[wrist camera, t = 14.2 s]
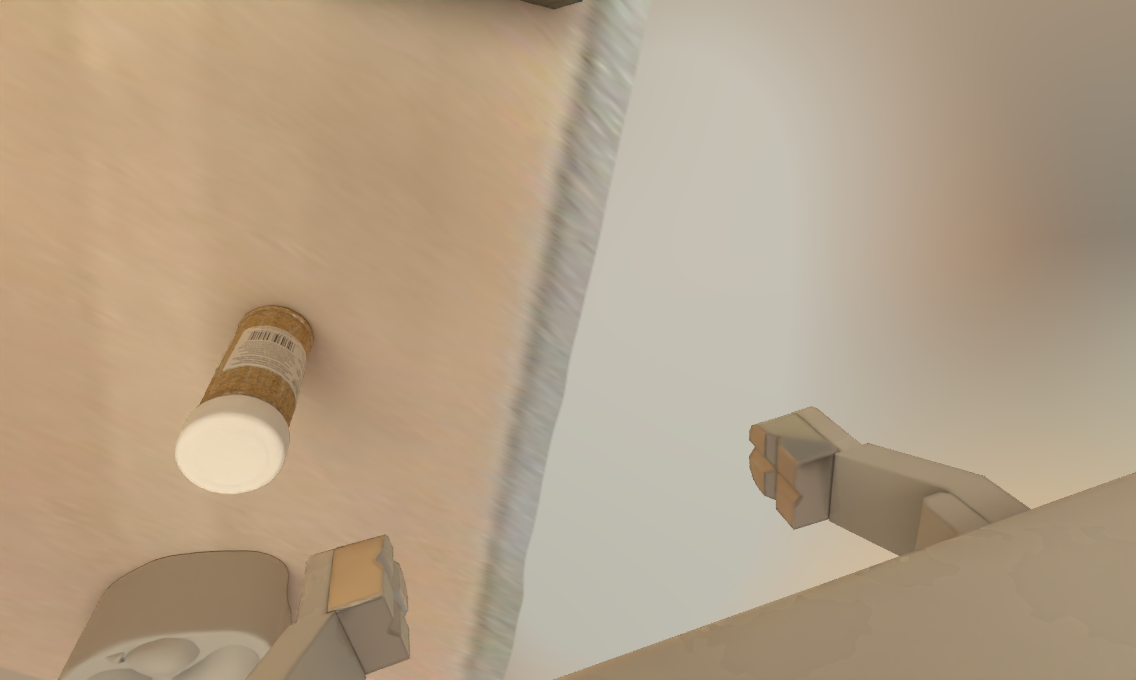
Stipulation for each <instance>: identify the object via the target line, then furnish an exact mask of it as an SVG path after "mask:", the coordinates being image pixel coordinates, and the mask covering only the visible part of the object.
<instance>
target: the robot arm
mask: <svg viewBox="0 0 1136 680" xmlns="http://www.w3.org/2000/svg"><path fill="white" fill-rule="evenodd" d="M749 434H750V436H749V440H750V441H751V443H752V444H753V445H754V446H755V448H754V449H753V451H752V453H751V454H750V456H749V460H750V470H751V473H752V477H753V480H754V481H755V483H756V485H757V487H758V488H759V490H760V491H761V492H762V493H763V494H764V495H765V496H767V497H769V498H772V499H775V500H776V510H777V511H778V512H779V513H780V514H781V515H782V517H783V518H784V519H785V520H786V521H787V522H788V524H789V525H790V526H791V527H792V528H793V529H798V528H801V527H804V526H807V525H811V524H814V523H818V522H821V521H824V520H827V519H829V521H831V522H833V523H835V524H836V525H838V526H840V527H842V528H844V529H846V530H848V531H850V532H852V533H854V534H856V535H859V536H860V537H863V538H865V539H866V540H868V541H871V542H872V543H875V544H876V545H878V546H880V547H883V548H884V549H887V550H889V551H891V552H893V553H895V554H897V555H899V557H897V558H894V559H891V560H888V561H885V562H883V563H880V564H877V565H874V566H872V567H869V568H866V569H863V570H860V571H857V572H855V573H852V574H849V575H846V576H844V577H841V578H838V579H835V580H832V581H830V582H827V583H824V584H821V585H819V586H815V587H813V588H810V589H807V590H804V591H801V592H799V593H796V594H793V595H790V596H787V597H784V598H782V599H779V600H776V601H773V602H770V603H768V604H765V605H762V606H759V607H756V608H753V609H751V610H748V611H745V612H742V613H739V614H737V615H734V616H731V617H728V618H725V619H722V620H720V621H717V622H714V623H711V624H708V625H706V626H703V627H700V628H697V629H695V630H692V631H689V632H686V633H683V634H680V635H678V636H675V637H672V638H669V639H666V640H664V641H661V642H658V643H655V644H652V645H650V646H647V647H644V648H641V649H639V650H636V651H633V652H630V653H628V654H625V655H622V656H619V657H616V658H613V659H611V660H608V661H605V662H602V663H599V664H596V665H594V666H591V667H588V668H585V669H582V670H580V671H577V672H574V673H571V674H568V675H566V676H563V677H560V678H557V679H555V680H1136V472H1135V473H1132V474H1129V475H1127V476H1124V477H1121V478H1118V479H1115V480H1113V481H1110V482H1107V483H1104V484H1101V485H1098V486H1096V487H1093V488H1090V489H1087V490H1084V491H1082V492H1079V493H1076V494H1073V495H1070V496H1068V497H1065V498H1062V499H1059V500H1057V501H1054V502H1051V503H1049V504H1045V505H1042V506H1040V507H1037V508H1034V509H1030V508H1028V507H1027V506H1026V505H1024V504H1023V503H1021V502H1020V501H1019V500H1017V499H1016V498H1014V497H1013V496H1011V495H1010V494H1009V493H1007V492H1006V491H1004V490H1003V489H1002V488H1000V487H999V486H997V485H996V484H994V483H993V482H992V481H990V480H989V479H988V478H986V477H985V476H983V475H979V474H975V473H972V472H968V471H965V470H961V469H958V468H954V467H950V466H947V465H944V464H940V463H937V462H933V461H930V460H926V459H922V458H919V457H915V456H912V455H908V454H905V453H901V452H898V451H894V450H891V449H887V448H884V447H880V446H876V445H873V444H869V443H867V444H863V445H862V444H860V443H859V442H858V441H857V440H856V439H854V438H853V437H852V436H850V435H849V434H848V433H847V432H846V431H844V430H843V429H842V428H841V427H840V426H838V425H837V424H836V423H834V422H833V421H832V420H831V419H830V418H829V417H827V416H826V415H825V414H824V413H822V412H821V411H820V410H819V409H817V408H815V407H808V408H805V409H802V410H799V411H795V412H793V413H791V414H787V415H784V416H781V417H778V418H774V419H771V420H768V421H765V422H761V423H758V424H755V425H752V426H751V429H750V431H749ZM407 612H408V596H407V590H406V584H405V580H404V576H403V573H402V570H401V567H400V564H399V563H397V562H395V561H393V547H392V544H391V542H390V540H389V537H388V536H387V535H381V536H378V537H374V538H370V539H367V540H363V541H359V542H356V543H352V544H348V545H345V546H341V547H337V548H336V549H332V550H328V551H325V552H321V553H317V554H314V555H310V557H309V558H308V560H307V562H306V567H305V573H304V579H303V585H302V591H301V597H300V603H299V609H298V615H297V621H296V623H295V624H292V625H289V626H288V627H287V628H286V629H285V631H284V632H283V633H282V634H281V636H280V637H279V638H278V639H277V641H276V642H275V643H274V644H273V646H272V647H271V648H270V649H269V651H268V652H267V653H266V654H265V656H264V657H263V658H262V659H261V661H260V662H259V663H258V664H257V666H256V667H255V668H254V669H253V670H252V672H251V673H250V674H249V675H248V677H247V678H246V679H245V680H365V679H366V674H369V673H372V672H374V671H377V670H380V669H383V668H385V667H388V666H391V665H394V664H396V663H399V662H402V661H405V660H407V659H410V644H409V628H408V625H407V623H406V620H405V617H404V616H405V615H406V613H407Z"/></svg>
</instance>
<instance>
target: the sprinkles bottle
mask: <svg viewBox="0 0 1136 680" xmlns="http://www.w3.org/2000/svg"><path fill="white" fill-rule="evenodd" d="M312 343H313V336H312V331H311V329H310V327H309V325H308V323H307V322H306V321H305V319H304V318H303V317H302V316H301V315H299V314H297V313H296V312H294V311H292V310H289V309H287V308H284V307H278V306H266V307H261V308H257V309H256V310H253V311H251V312H250V313H248V314H246V315H245V316H244V318H243V319H242V320H241V322H240V323H239V325H238V329H237V332H236V336H235V337H234V339H233V341H231V342H230V344H229V345H228V347H227V349H226V351H225V353H224V355H223V357H222V359H221V360H220V362H219V364H218V366H217V368H216V371H215V374H214V376H213V378H212V380H211V382H210V384H209V386H208V388H207V390H206V392H205V395H204V397H203V399H202V401H201V403H200V405H199V406H198V407H197V408H196V409H195V410H193V411H192V412H191V414H190V415H189V416H188V418H187V420H186V422H185V424H184V425H183V427H182V429H181V432H180V434H179V436H178V439H177V441H176V445H175V459H176V463H177V465H178V467H179V469H180V471H181V472H182V473H183V475H184V476H185V477H186V478H187V479H188V480H190V481H191V482H192V483H194V484H195V485H197V486H199V487H201V488H203V489H205V490H208V491H212V492H216V493H222V494H240V493H245V492H249V491H253V490H256V489H258V488H260V487H262V486H264V485H266V484H267V483H269V482H270V481H271V480H272V479H273V478H274V477H275V476H276V475H277V474H278V473H279V471H280V470H281V468H282V466H283V464H284V461H285V457H286V454H287V450H288V446H289V441H290V432H289V426H290V421H291V419H292V416H293V413H294V411H295V408H296V403H297V399H298V395H299V392H300V388H301V384H302V380H303V376H304V372H305V368H306V361H307V356H308V354H309V353H310V351H311V348H312Z"/></svg>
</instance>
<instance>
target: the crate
mask: <svg viewBox="0 0 1136 680" xmlns="http://www.w3.org/2000/svg"><path fill="white" fill-rule="evenodd" d="M522 1H525V2H529V3H533V4H536V5H540V6H544V7H547V8H551V9H557V8H560V7H564V6H567V5H571V4H574V3H578V2H582V1H583V0H522Z"/></svg>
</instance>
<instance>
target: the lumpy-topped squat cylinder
mask: <svg viewBox="0 0 1136 680" xmlns="http://www.w3.org/2000/svg"><path fill="white" fill-rule="evenodd" d="M287 585H288V570H287V568H286V566H285V565H284V564H283V563H282V562H281V561H280V560H278V559H277V558H275V557H273V556H270V555H268V554H264V553H260V552H253V551H216V552H202V553H191V554H183V555H176V556H170V557H165V558H161V559H158V560H155V561H152V562H150V563H148V564H146V565H144V566H141V567H139V568H137V569H135V570H134V571H132V572H130V573H128V574H126V575H125V576H123V577H121V578H120V579H118V580H117V581H116V582H115V583H113V584H112V585H111V586H110V587H109V588H108V590H107V591H106V592H105V593H104V594H103V596H102V597H101V599H100V600H99V602H98V604H97V606H96V608H95V610H94V612H93V614H92V615H91V617H90V619H89V621H88V623H87V625H86V627H85V629H84V631H83V632H82V634H81V636H80V638H79V640H78V642H77V644H76V646H75V648H74V650H73V651H72V653H71V655H70V657H69V659H68V661H67V663H66V665H65V667H64V669H63V671H62V673H61V675H60V677H59V679H58V680H245V679H246V678H247V677H248V675H249V674H250V673H251V672H252V670H253V669H254V668H255V667H256V666H257V664H258V663H259V662H260V661H261V659H262V658H263V657H264V656H265V654H266V653H267V652H268V651H269V649H270V648H271V647H272V646H273V644H274V643H275V642H276V641H277V639H278V638H279V637H280V636H281V634H282V633H283V632H284V631H285V629H286V628H287V627H288V626H289V625H290V623H291V611H290V608H289V605H288V601H287Z"/></svg>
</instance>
